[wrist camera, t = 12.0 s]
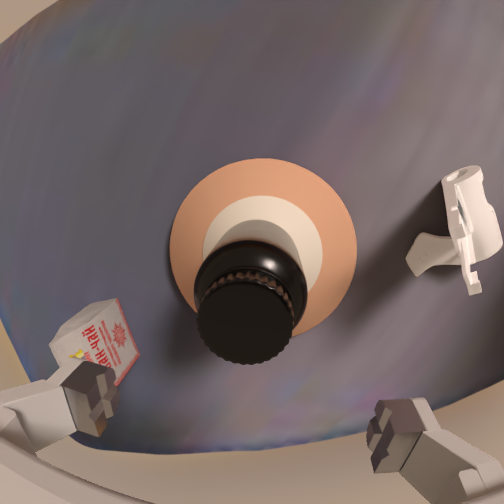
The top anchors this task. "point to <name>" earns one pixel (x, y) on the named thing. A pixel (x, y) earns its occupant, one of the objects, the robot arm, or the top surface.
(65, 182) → the top surface
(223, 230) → the peach rimmed plate
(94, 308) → the tea bag
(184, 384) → the top surface
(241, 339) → the supplement bottle
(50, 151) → the top surface
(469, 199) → the plastic part
